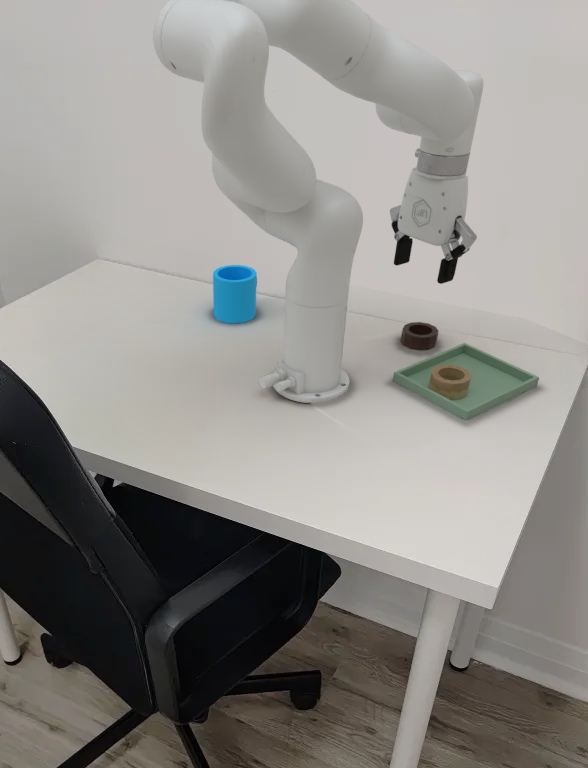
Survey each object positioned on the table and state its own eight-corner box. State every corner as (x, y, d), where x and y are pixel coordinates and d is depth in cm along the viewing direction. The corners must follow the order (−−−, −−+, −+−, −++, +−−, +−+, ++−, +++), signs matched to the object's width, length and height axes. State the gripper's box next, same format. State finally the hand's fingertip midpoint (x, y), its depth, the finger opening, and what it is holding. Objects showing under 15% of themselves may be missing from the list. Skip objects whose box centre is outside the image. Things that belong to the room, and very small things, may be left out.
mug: (242, 327, 144) (242, 285, 139) (205, 317, 148) (204, 276, 143) (273, 303, 152) (274, 263, 147) (237, 295, 156) (237, 255, 151)
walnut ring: (418, 356, 134) (421, 340, 132) (393, 343, 138) (395, 328, 136) (442, 346, 137) (445, 330, 135) (417, 334, 140) (419, 319, 139)
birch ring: (449, 403, 120) (453, 387, 119) (421, 388, 124) (423, 372, 122) (475, 392, 123) (479, 375, 121) (446, 377, 127) (449, 361, 125)
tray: (465, 423, 117) (467, 411, 116) (392, 383, 127) (393, 372, 126) (536, 388, 125) (539, 377, 123) (462, 353, 134) (464, 342, 133)
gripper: (384, 154, 122) (369, 261, 132) (470, 180, 111) (447, 294, 121) (417, 148, 125) (400, 253, 136) (504, 172, 114) (478, 284, 125)
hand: (422, 272), depth 128 cm, fingers open, 9 cm apart
